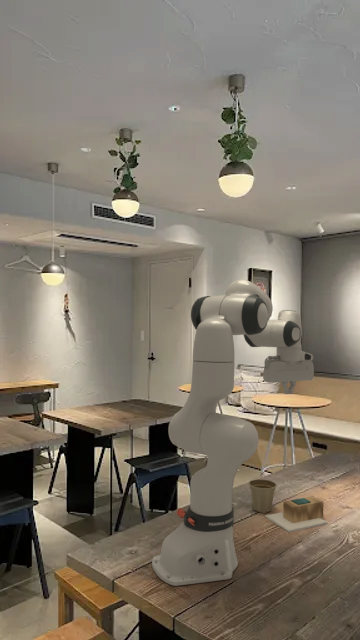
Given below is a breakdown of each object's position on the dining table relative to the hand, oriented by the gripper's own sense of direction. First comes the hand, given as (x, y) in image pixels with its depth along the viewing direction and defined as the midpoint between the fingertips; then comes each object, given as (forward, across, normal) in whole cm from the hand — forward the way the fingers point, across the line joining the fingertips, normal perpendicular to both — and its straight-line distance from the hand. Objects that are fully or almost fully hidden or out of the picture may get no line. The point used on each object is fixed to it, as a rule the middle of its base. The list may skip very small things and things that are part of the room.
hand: (288, 393), depth 174 cm
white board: (+37, -10, -18) cm, 43 cm away
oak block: (+34, -2, -18) cm, 39 cm away
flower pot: (+37, -15, -6) cm, 41 cm away
